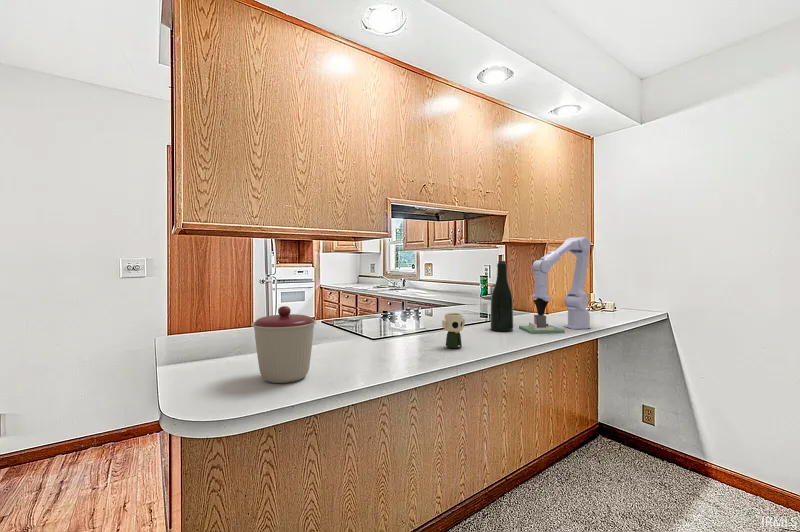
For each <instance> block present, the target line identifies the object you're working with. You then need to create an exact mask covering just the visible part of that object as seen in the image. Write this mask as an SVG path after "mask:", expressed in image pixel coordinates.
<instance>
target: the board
mask: <svg viewBox="0 0 800 532" xmlns="http://www.w3.org/2000/svg"><path fill="white" fill-rule="evenodd" d="M518 329H520V330H522V331H524V332H527V333H528V334H531V335H534V334H565V331H566V330H564V329H563V328H559V327H556V326H554V325H551V324H548V326H546V328H537V325H536V324H534V322H528V325H518Z"/></svg>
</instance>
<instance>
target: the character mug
mask: <svg viewBox="0 0 800 532" xmlns="http://www.w3.org/2000/svg"><path fill="white" fill-rule="evenodd" d="M465 320H466V319H465V317H464V315H463V313H459V312H447V313H444V319H443V320H442V322H441V326H442V328H443V329H444V330H445V331H446V332H447V333H446V339H445V346H446V347H448V348H450V349H456V348H457V349H458V348H462V347H463V345H462V343H463V342H462V336H461V333H460V332H461V331H463V329H464V326H465V325H466V324H465V323H466V321H465Z"/></svg>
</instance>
